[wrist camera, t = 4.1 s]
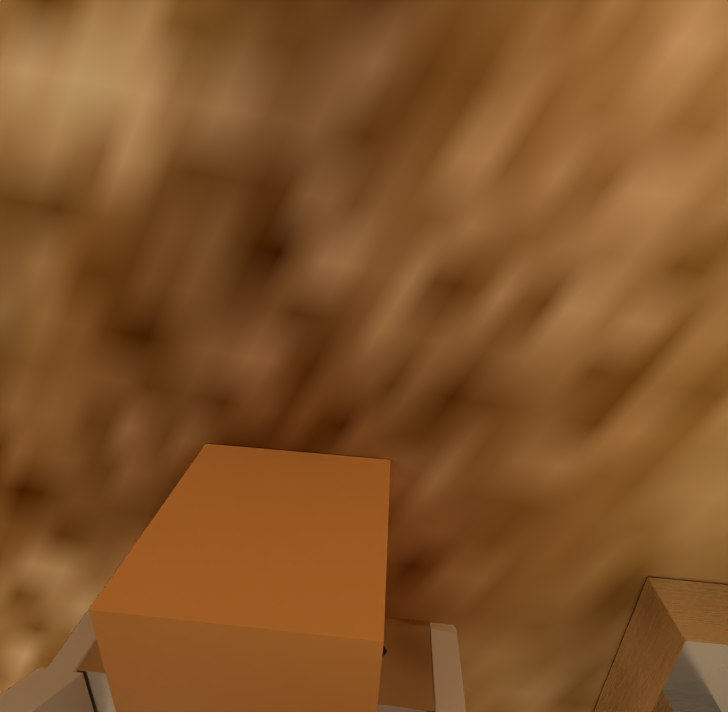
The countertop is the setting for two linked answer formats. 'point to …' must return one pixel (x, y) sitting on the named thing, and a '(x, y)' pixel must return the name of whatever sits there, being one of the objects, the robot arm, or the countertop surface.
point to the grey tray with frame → (672, 651)
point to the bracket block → (253, 588)
